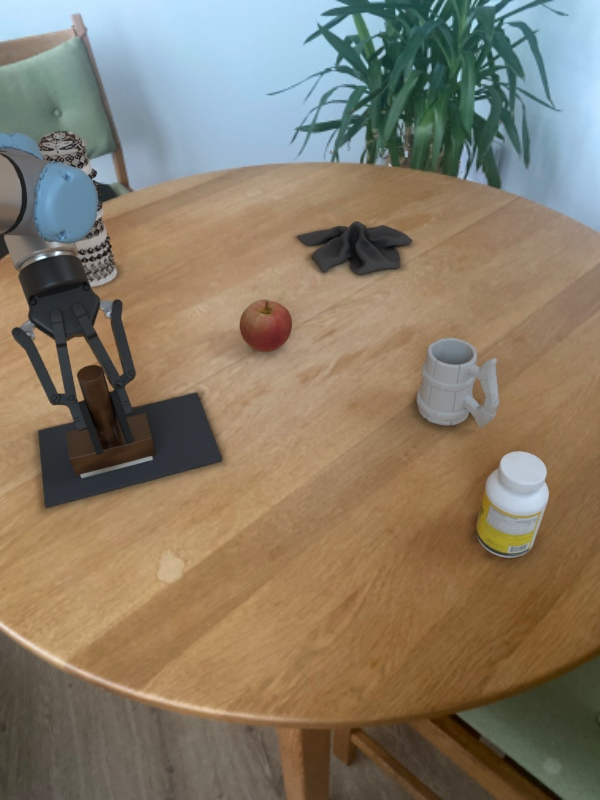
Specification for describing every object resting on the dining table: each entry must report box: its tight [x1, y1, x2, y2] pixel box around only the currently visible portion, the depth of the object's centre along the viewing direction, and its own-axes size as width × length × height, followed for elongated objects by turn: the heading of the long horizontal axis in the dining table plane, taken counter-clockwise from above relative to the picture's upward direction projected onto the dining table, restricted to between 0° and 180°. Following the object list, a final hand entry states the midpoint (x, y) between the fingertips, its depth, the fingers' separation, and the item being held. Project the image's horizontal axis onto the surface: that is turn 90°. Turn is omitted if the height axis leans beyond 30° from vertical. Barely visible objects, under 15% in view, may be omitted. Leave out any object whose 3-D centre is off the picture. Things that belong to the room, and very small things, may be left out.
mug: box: [416, 337, 500, 428], centre depth 88 cm, size 8×12×12 cm, turn 41°
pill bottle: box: [475, 450, 550, 559], centre depth 73 cm, size 6×6×12 cm
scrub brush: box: [66, 364, 156, 478], centre depth 82 cm, size 10×5×14 cm, turn 109°
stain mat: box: [37, 392, 223, 509], centre depth 89 cm, size 22×14×1 cm, turn 110°
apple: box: [239, 299, 293, 353], centre depth 103 cm, size 8×8×8 cm
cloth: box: [296, 220, 413, 275], centre depth 126 cm, size 22×19×6 cm
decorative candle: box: [37, 130, 118, 288], centre depth 115 cm, size 9×9×25 cm
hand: (115, 447), depth 81 cm, fingers closed on scrub brush, 3 cm apart
